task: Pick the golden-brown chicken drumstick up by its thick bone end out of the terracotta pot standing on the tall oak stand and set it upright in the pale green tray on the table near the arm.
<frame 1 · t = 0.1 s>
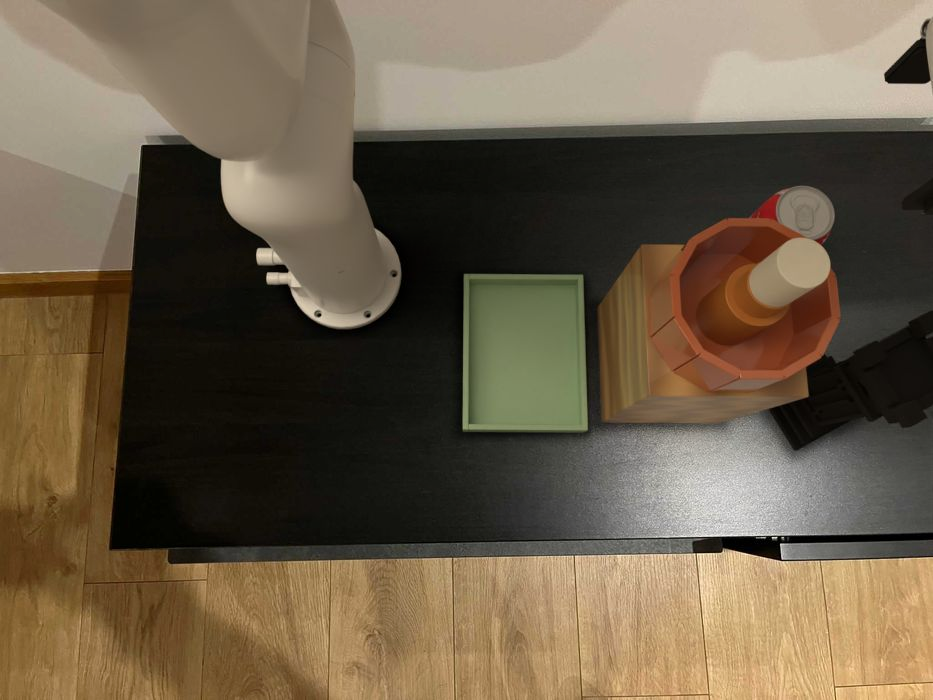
hand: (913, 141, 49), 31 cm above the table, tool pointing down, fingers open, 9 cm apart
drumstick: (725, 317, 57), point 20 cm above the table, touching pot
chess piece: (803, 401, 76), on the table
soda can: (754, 255, 80), on the table
pot: (723, 318, 58), resting on stand
stand: (657, 364, 77), on the table
tray: (522, 354, 77), on the table
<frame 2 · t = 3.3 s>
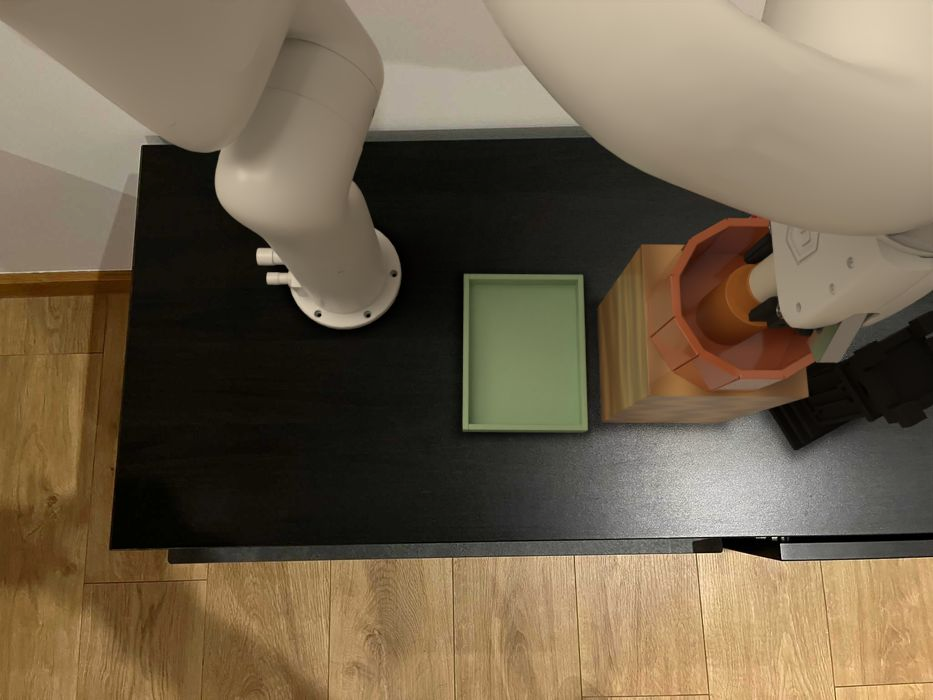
hand: (767, 287, 49), 29 cm above the table, tool pointing down, fingers closed on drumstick, 3 cm apart
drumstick: (725, 317, 57), point 20 cm above the table, touching gripper, pot
everything else where it was.
when the fingers open (9 cm above the table, at t = 11.6 s): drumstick stays where it is, resting on tray.
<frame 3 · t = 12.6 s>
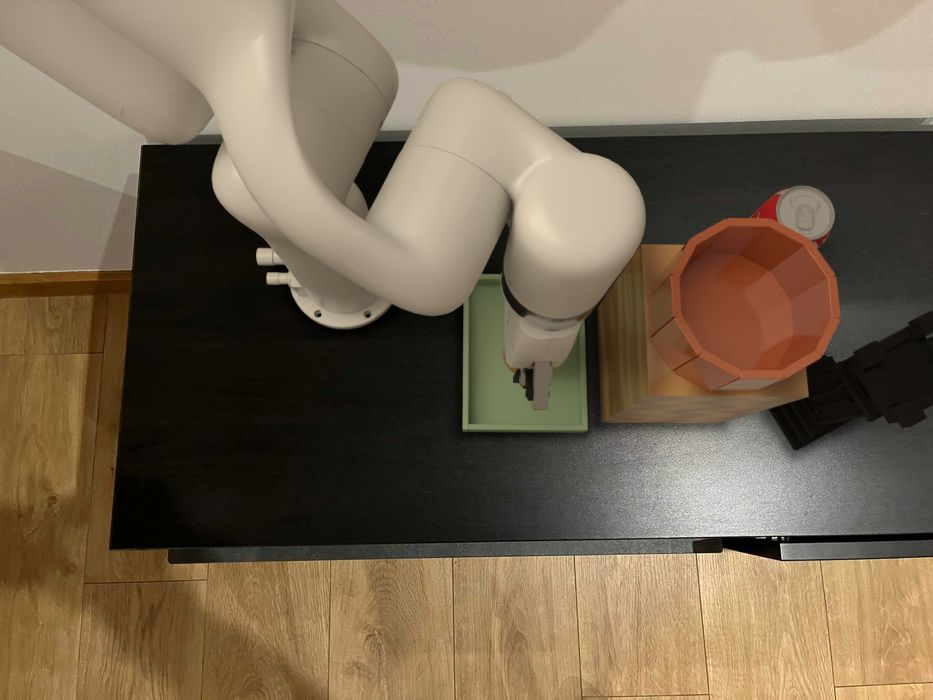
hand: (528, 330, 67), 11 cm above the table, tool pointing down, fingers open, 9 cm apart
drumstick: (524, 354, 77), resting on tray
everything else where it was.
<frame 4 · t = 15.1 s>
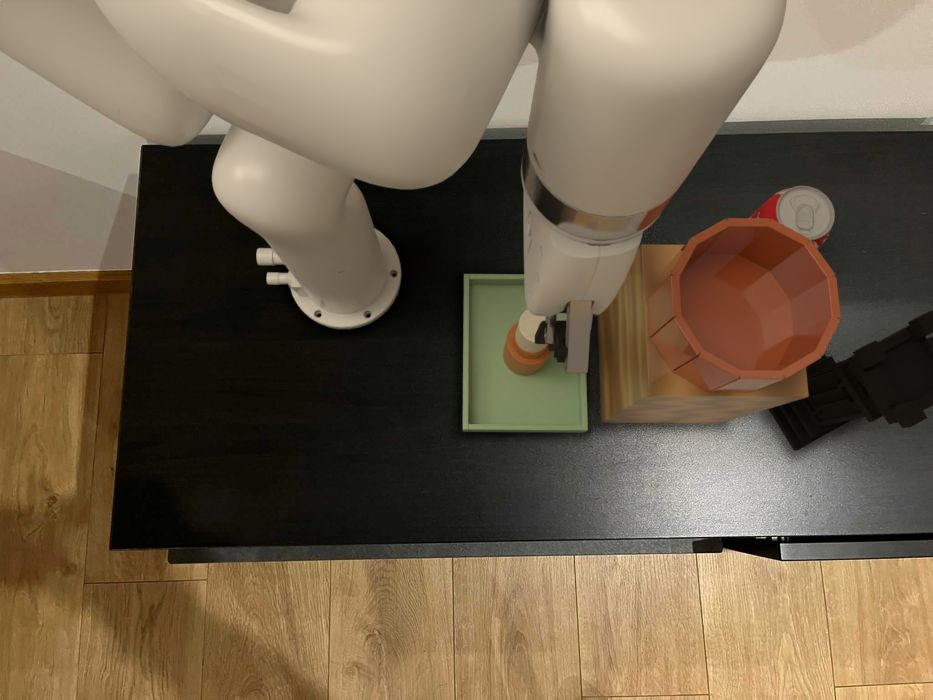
hand: (555, 274, 50), 28 cm above the table, tool pointing down, fingers open, 9 cm apart
nothing on the table moved.
at the end: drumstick inside the target area in the tray (0.2 cm from its centre), point 0.5 cm above the tray's base; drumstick tilted 0°; the gripper is holding nothing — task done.
